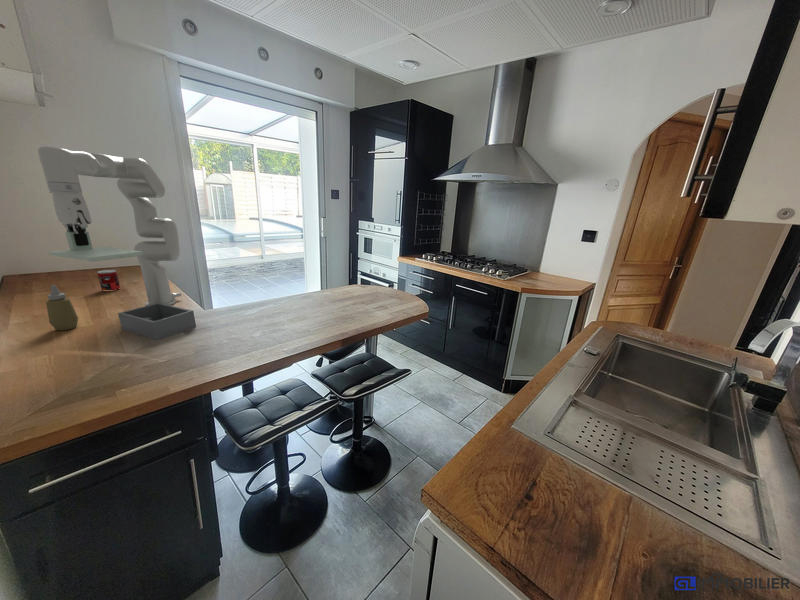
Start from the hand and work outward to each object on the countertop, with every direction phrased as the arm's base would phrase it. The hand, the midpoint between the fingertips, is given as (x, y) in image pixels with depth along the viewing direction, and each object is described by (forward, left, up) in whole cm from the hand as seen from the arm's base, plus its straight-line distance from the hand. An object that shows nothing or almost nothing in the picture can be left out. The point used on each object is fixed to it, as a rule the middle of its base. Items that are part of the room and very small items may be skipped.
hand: (80, 244), depth 107 cm
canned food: (-38, -74, -36) cm, 91 cm away
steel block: (-11, +5, -35) cm, 37 cm away
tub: (-14, +9, -36) cm, 39 cm away
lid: (0, +9, -3) cm, 10 cm away
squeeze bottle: (+1, -25, -36) cm, 44 cm away
